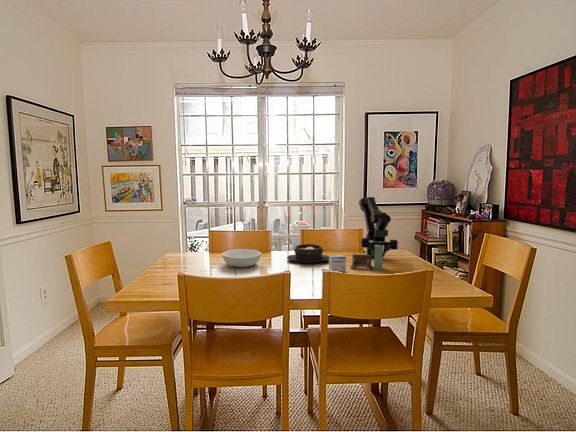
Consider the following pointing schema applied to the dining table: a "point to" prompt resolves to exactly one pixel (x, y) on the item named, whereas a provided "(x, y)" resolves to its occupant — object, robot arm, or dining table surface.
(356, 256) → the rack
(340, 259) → the medicine box
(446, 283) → the dining table surface
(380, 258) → the book
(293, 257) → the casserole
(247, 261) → the serving bowl
